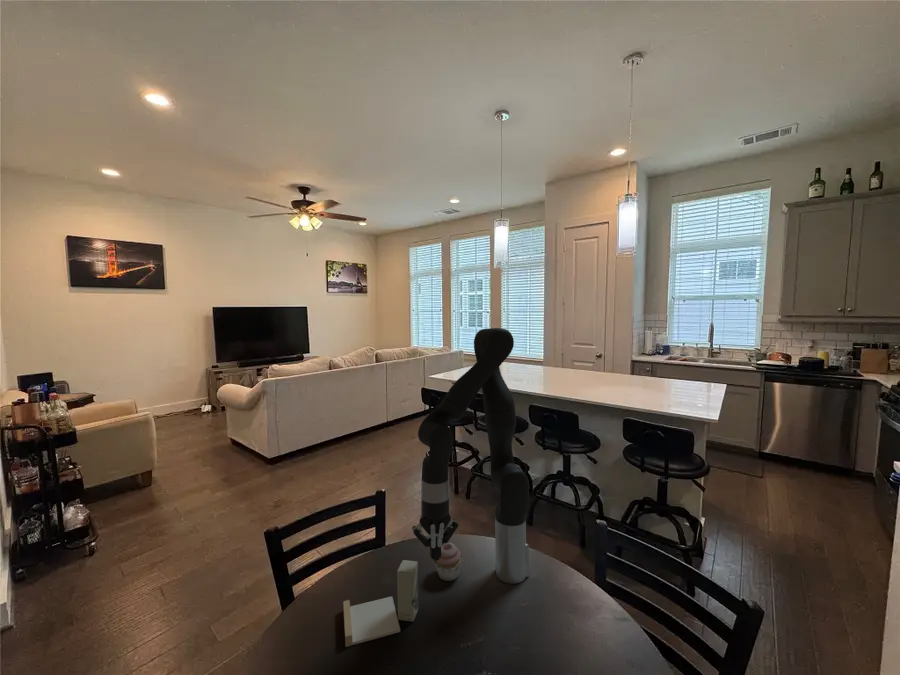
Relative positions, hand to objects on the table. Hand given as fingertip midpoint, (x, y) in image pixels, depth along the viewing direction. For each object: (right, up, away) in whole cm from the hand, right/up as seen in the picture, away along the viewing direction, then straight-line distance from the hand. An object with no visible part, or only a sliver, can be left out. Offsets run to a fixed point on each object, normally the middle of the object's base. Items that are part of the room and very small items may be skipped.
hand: (435, 558), depth 99 cm
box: (-7, -13, -2) cm, 15 cm away
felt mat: (-16, -13, -4) cm, 21 cm away
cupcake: (+4, -13, +13) cm, 19 cm away
